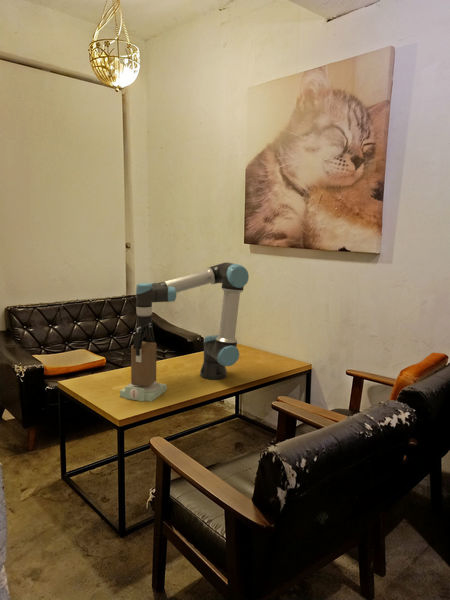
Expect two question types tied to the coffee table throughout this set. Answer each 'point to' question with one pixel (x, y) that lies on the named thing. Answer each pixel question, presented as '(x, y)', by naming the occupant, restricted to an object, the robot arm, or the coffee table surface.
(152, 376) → the wooden block
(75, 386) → the coffee table surface
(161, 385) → the scale
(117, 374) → the coffee table surface
